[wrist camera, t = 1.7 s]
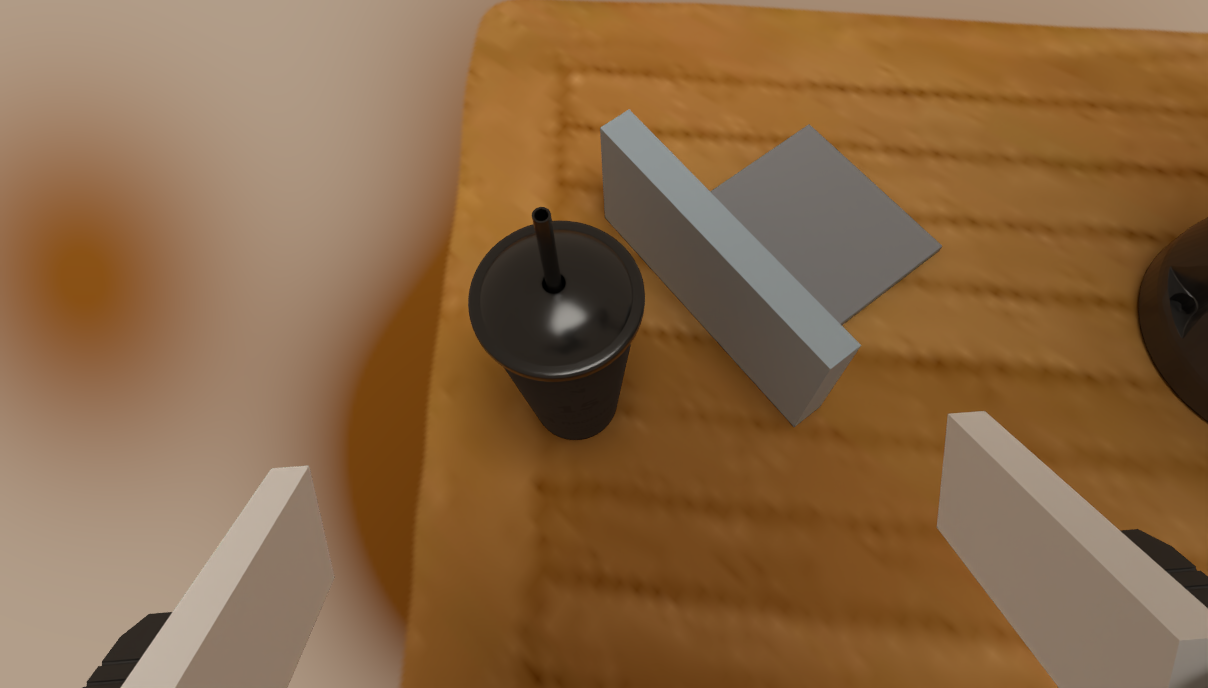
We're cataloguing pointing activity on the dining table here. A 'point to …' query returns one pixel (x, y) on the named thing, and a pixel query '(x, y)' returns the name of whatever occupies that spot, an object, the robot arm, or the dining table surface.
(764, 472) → the dining table surface
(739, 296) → the low wall
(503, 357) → the drinking cup
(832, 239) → the rubber mat
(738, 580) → the dining table surface
